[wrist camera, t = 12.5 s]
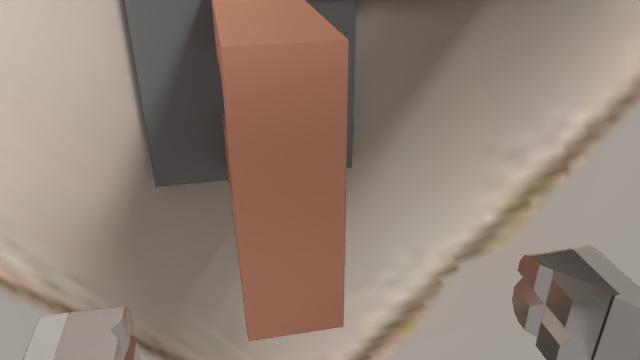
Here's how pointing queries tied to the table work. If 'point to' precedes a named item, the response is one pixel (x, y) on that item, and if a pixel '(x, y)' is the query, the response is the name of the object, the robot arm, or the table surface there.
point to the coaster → (198, 84)
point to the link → (285, 160)
